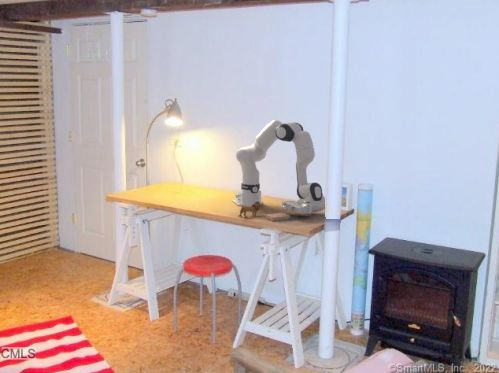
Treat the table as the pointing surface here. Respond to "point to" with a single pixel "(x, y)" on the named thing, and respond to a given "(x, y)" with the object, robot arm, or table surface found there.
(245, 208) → the lion figurine
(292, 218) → the rubber mat
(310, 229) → the table surface
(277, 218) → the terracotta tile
